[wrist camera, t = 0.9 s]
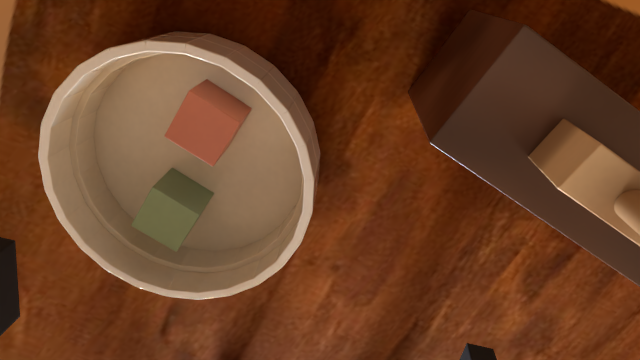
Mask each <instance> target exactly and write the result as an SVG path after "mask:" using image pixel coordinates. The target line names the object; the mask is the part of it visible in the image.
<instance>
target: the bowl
mask: <svg viewBox="0 0 640 360" xmlns="http://www.w3.org/2000/svg"><path fill="white" fill-rule="evenodd" d="M206 79H208V80H209V81H211V82H212V83H214V84H215V85H217V86H219V87H220V88H222V89H223V90H225V91H226V92H228V93H229V94H231V95H232V96H234V97H235V98H237V99H239V100H240V101H242V102H243V103H245V104H246V105H248V106H249V107H251V108H252V109H251V111H250V113H249V114H248V116H247V118H246V119H245V121H244V122H243V124H242V126H241V127H240V129H239V131H238V132H237V134H236V136H235V137H234V139H233V140H232V142H231V144H230V145H229V147H228V148H227V150H226V151H225V152H224V154H223V155H222V156H221V157H220V159H219V160H218V161H217V163H216V164H215V165H214V166H211V165H209V164H208V163H206V162H204V161H203V160H201V159H200V158H198V157H196V156H195V155H193V154H192V153H190V152H188V151H187V150H185V149H183V148H182V147H180V146H179V145H177V144H175V143H174V142H172V141H170V140H169V139H167V138H166V137H164V135H165V133H166V132H167V130H168V128H169V126H170V124H171V122H172V121H173V119H174V117H175V115H176V113H177V111H178V110H179V108H180V106H181V104H182V102H183V100H184V99H185V97H186V95H187V93H188V91H189V90H190V89H192V88H194V87H195V86H197V85H198V84H200V83H201V82H203V81H204V80H206ZM38 156H39V163H40V168H41V173H42V179H43V184H44V189H45V192H46V194H47V196H48V198H49V200H50V203H51V205H52V207H53V209H54V211H55V213H56V216H57V218H58V220H59V221H60V223H61V224H62V225H63V227H64V228H65V229H66V230H67V232H68V233H69V234H70V236H71V237H72V238H73V240H74V241H75V242H76V243H77V245H78V246H79V247H80V248H81V249H82V250H83V251H84V252H85V253H86V254H88V255H89V256H90V257H91V258H92V259H93V260H95V261H96V262H97V263H98V264H99V265H100V266H102V267H103V268H104V269H105V270H107V271H108V272H110V273H112V274H114V275H115V276H117V277H119V278H121V279H123V280H124V281H126V282H128V283H130V284H132V285H133V286H136V287H138V288H141V289H145V290H148V291H151V292H154V293H157V294H160V295H164V296H167V297H176V298H186V299H196V300H201V299H209V298H217V297H225V296H230V295H234V294H236V293H239V292H241V291H244V290H246V289H249V288H252V287H254V286H257V285H258V284H260V283H262V282H263V281H264V280H266V279H267V278H269V277H270V276H271V275H273V274H274V273H275V272H277V271H278V270H279V269H281V268H282V267H283V266H284V265H285V264H286V262H287V261H288V260H289V258H290V257H291V256H292V254H293V253H294V252H295V250H296V249H297V248H298V247H299V245H300V244H301V242H302V240H303V237H304V235H305V232H306V229H307V226H308V224H309V221H310V218H311V216H312V212H313V208H314V203H315V198H316V193H317V188H318V183H319V168H320V149H319V144H318V140H317V135H316V130H315V126H314V122H313V120H312V118H311V116H310V114H309V112H308V110H307V108H306V106H305V104H304V102H303V100H302V98H301V96H300V95H299V93H298V91H297V90H296V89H295V88H294V87H293V86H292V85H291V83H290V82H289V81H288V80H287V79H286V78H285V77H284V76H283V75H282V73H281V72H280V71H279V70H278V69H277V68H276V67H275V66H274V65H273V64H271V63H270V62H268V61H267V60H265V59H264V58H262V57H261V56H259V55H258V54H256V53H255V52H254V51H252V50H251V49H249V48H248V47H246V46H244V45H241V44H239V43H236V42H233V41H230V40H227V39H224V38H221V37H219V36H216V35H213V34H207V33H193V32H179V31H177V32H176V31H175V32H171V33H166V34H161V35H157V36H152V37H147V38H143V39H140V40H136V41H132V42H129V43H125V44H121V45H118V46H114V47H110V48H107V49H106V50H104V51H102V52H100V53H99V54H97V55H95V56H93V57H92V58H90V59H88V60H87V61H85V62H83V63H81V64H80V65H78V66H77V67H76V68H75V69H74V70H73V71H72V72H71V74H70V75H69V76H68V77H67V78H66V79H65V80H64V82H63V83H62V84H61V85H60V86H59V87H58V88H57V89H56V91H55V92H54V94H53V96H52V99H51V101H50V103H49V106H48V108H47V111H46V113H45V115H44V118H43V120H42V123H41V131H40V142H39V153H38ZM171 168H174V169H176V170H177V171H179V172H181V173H182V174H184V175H185V176H187V177H189V178H190V179H192V180H194V181H195V182H197V183H199V184H200V185H202V186H204V187H205V188H207V189H208V190H210V191H212V192H213V193H214V195H213V196H212V198H211V200H210V201H209V203H208V204H207V206H206V208H205V209H204V211H203V212H202V214H201V215H200V217H199V219H198V220H197V222H196V223H195V225H194V227H193V228H192V230H191V231H190V233H189V234H188V236H187V237H186V239H185V240H184V242H183V243H182V244H181V246H180V247H179V249H178V250H177V252H176V251H174V250H172V249H170V248H169V247H167V246H165V245H163V244H162V243H160V242H158V241H157V240H155V239H153V238H151V237H150V236H148V235H146V234H144V233H143V232H141V231H139V230H138V229H136V228H134V227H132V226H131V224H132V222H133V220H134V219H135V217H136V215H137V213H138V212H139V210H140V208H141V206H142V204H143V203H144V201H145V199H146V197H147V196H148V194H149V192H150V190H151V188H152V187H153V186H154V185H155V184H156V183H157V182H158V181H159V180H160V179H161V178H162V177H163V176H164V175H165V174H166V173H167V172H168V171H169V170H170V169H171Z"/></svg>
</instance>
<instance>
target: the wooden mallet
mask: <svg viewBox="0 0 640 360" xmlns="http://www.w3.org/2000/svg"><path fill="white" fill-rule="evenodd" d="M528 158H529V159H530V160H531V161H532V162H533V163H534V164H535V165H536V166H537V167H538V168H539V169H540V170H541V172H542V173H543V174H544V175H545V176H546V177H547V178H548V179H549V180H550V181H551V182H552V183H553V184H554V185H555V186H556V187H557V189H559V190H560V191H562V192H563V193H564V194H566V195H567V196H569V197H570V198H572V199H573V200H574V201H576V202H577V203H579V204H580V205H582V206H583V207H584V208H586V209H587V210H589V211H590V212H592V213H593V214H594V215H596V216H597V217H599V218H600V219H602V220H603V221H604V222H606V223H607V224H609V225H610V226H612V227H613V228H614V229H616V230H617V231H619V232H620V233H622V234H623V235H624V236H626V237H627V238H629V239H630V240H631V241H633V242H634V243H636V244H637V245H639V246H640V171H638V170H637V169H636V168H634V167H633V166H631V165H630V164H629V163H627V162H626V161H625V160H623V159H622V158H621V157H619V156H618V155H616V154H615V153H614V152H612V151H611V150H610V149H608V148H607V147H606V146H604V145H603V144H601V143H600V142H599V141H597V140H596V139H594V138H593V137H591V136H590V135H588V134H587V133H585V132H584V131H582V130H581V129H579V128H578V127H576V126H575V125H574V124H572V123H571V122H569V121H568V120H566V119H562V120H561V121H560V122H559V124H558V125H557V126H556V127H555V128H554V129H553V130H552V131H551V132H550V133H549V134H548V136H547V137H546V138H545V139H544V140H543V141H542V142H541V143H540V144H539V145H538V146H537V147H536V149H535V150H534V151H533V152H532V153H531V154H530V155H529V156H528Z"/></svg>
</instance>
